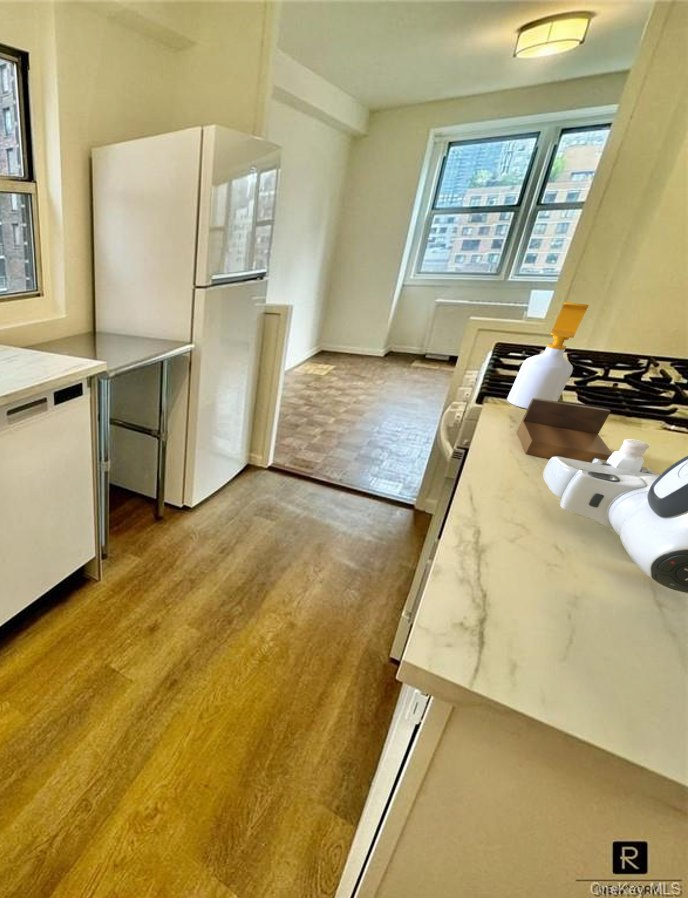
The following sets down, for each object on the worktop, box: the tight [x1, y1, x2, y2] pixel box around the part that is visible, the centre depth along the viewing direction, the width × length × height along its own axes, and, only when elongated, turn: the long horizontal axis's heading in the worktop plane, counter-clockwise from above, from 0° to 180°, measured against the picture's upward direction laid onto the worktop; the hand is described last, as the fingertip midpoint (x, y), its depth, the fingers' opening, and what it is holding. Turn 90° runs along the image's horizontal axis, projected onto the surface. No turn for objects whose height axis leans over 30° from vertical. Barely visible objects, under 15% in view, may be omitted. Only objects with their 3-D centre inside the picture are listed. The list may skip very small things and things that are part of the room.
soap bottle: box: [506, 302, 589, 410], centre depth 113 cm, size 9×9×25 cm
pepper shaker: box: [607, 438, 650, 472], centre depth 78 cm, size 5×5×11 cm
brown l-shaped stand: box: [516, 398, 613, 463], centre depth 96 cm, size 12×12×8 cm
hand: (618, 467), depth 79 cm, fingers closed on pepper shaker, 4 cm apart
